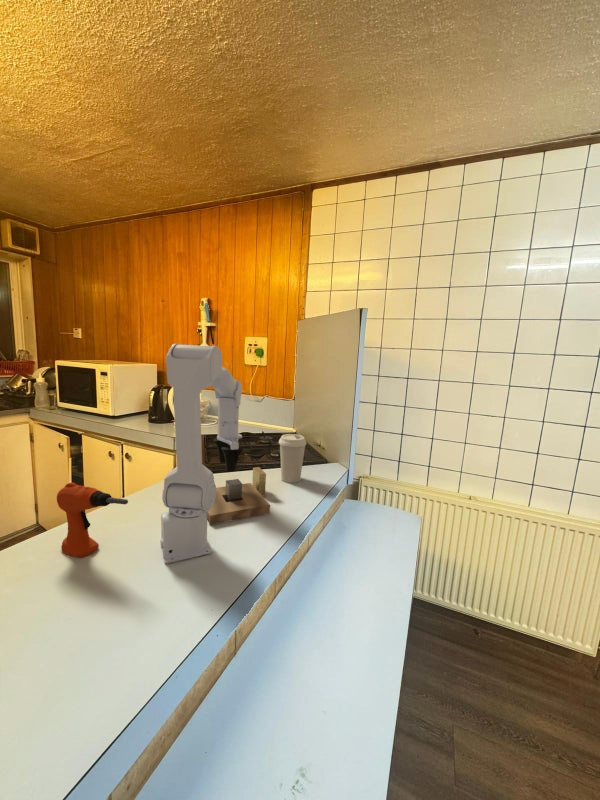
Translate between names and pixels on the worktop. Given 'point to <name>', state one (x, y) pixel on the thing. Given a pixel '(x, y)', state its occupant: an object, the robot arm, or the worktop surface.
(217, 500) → the plate
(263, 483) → the block
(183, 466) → the robot arm
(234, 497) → the square bit
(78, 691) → the worktop surface
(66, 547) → the toy drill
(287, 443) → the coffee cup
